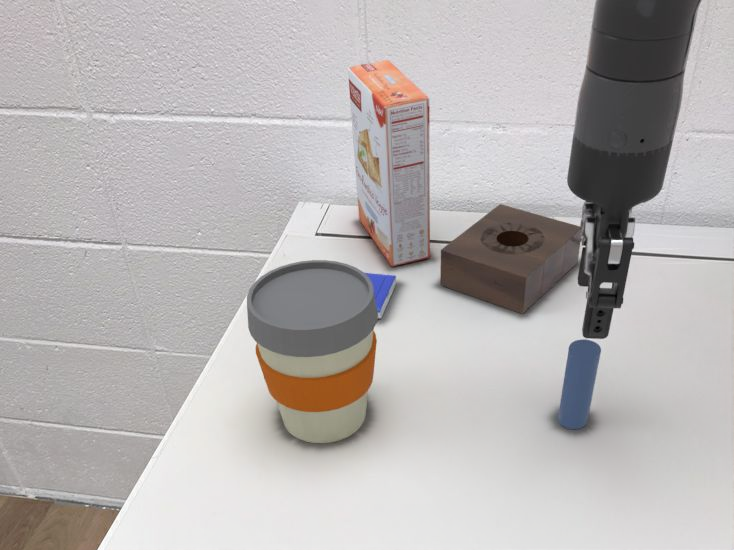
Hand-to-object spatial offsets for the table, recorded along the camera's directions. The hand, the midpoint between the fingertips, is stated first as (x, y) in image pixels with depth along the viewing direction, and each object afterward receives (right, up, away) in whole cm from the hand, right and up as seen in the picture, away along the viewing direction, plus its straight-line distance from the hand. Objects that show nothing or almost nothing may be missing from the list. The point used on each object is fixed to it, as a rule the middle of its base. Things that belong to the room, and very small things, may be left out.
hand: (591, 309), depth 73 cm
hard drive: (-24, +8, +28) cm, 38 cm away
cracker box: (-17, +18, +38) cm, 45 cm away
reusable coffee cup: (-25, -8, +13) cm, 29 cm away
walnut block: (-2, +12, +30) cm, 32 cm away
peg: (+1, -9, +10) cm, 13 cm away
